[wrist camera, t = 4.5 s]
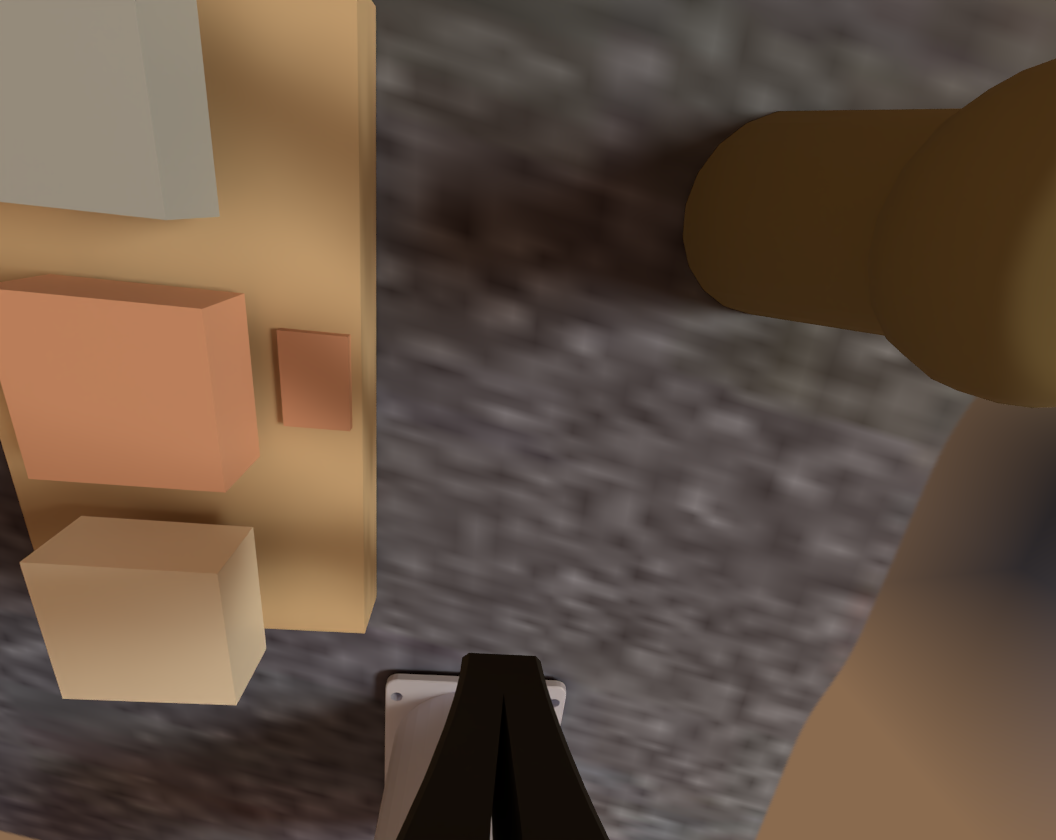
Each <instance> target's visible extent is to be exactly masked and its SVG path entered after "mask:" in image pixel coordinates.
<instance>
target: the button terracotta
mask: <svg viewBox="0 0 1056 840" xmlns="http://www.w3.org/2000/svg"><path fill="white" fill-rule="evenodd" d="M0 382H1V385H2V389H3V392H4V396H5V399H6V403H7V406H8V410H9V413H10V416H11V420H12V423H13V427H14V430H15V434H16V437H17V441H18V444H19V448H20V451H21V454H22V458H23V461H24V465H25V468H26V472H27V475H28V479H37V480H52V481H66V482H80V483H95V484H109V485H123V486H138V487H152V488H166V489H181V490H195V491H209V492H223V493H226V492H227V491H228V490H229V488H230V487H231V486H232V485H233V484H234V483H235V482H236V481H237V480H238V479H239V478H240V477H241V476H242V475H243V474H244V473H245V472H246V470H247V469H248V468H249V467H250V466H251V465H252V464H253V463H254V462H255V461H256V460H257V459H258V458H259V457H260V450H259V440H258V429H257V419H256V408H255V398H254V387H253V377H252V367H251V356H250V346H249V335H248V325H247V314H246V304H245V294H244V293H235V292H225V291H215V290H205V289H195V288H185V287H175V286H165V285H155V284H145V283H135V282H125V281H115V280H105V279H95V278H85V277H75V276H65V275H55V274H46V275H40V276H34V277H28V278H22V279H16V280H10V281H4V282H0Z"/></svg>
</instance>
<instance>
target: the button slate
mask: <svg viewBox="0 0 1056 840" xmlns="http://www.w3.org/2000/svg"><path fill="white" fill-rule="evenodd" d="M0 202H6V203H15V204H24V205H33V206H43V207H52V208H61V209H70V210H79V211H88V212H97V213H106V214H116V215H125V216H134V217H143V218H152V219H161V220H176V219H191V218H207V217H220V214H219V205H218V196H217V186H216V177H215V168H214V159H213V149H212V140H211V131H210V121H209V112H208V103H207V94H206V84H205V75H204V66H203V56H202V47H201V38H200V28H199V19H198V10H197V1H196V0H0Z"/></svg>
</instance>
